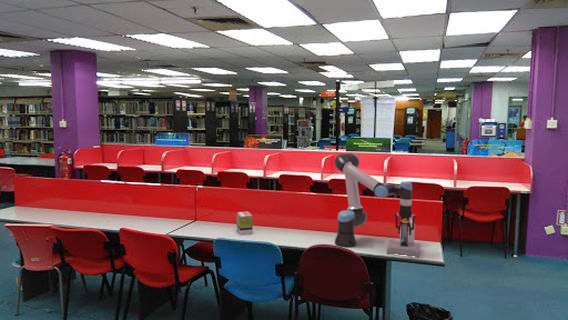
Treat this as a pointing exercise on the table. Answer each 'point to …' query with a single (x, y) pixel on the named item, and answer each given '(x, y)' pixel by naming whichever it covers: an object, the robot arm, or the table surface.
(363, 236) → the table surface
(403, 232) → the grey orange-topped cylinder
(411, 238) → the milk carton
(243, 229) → the tea box
